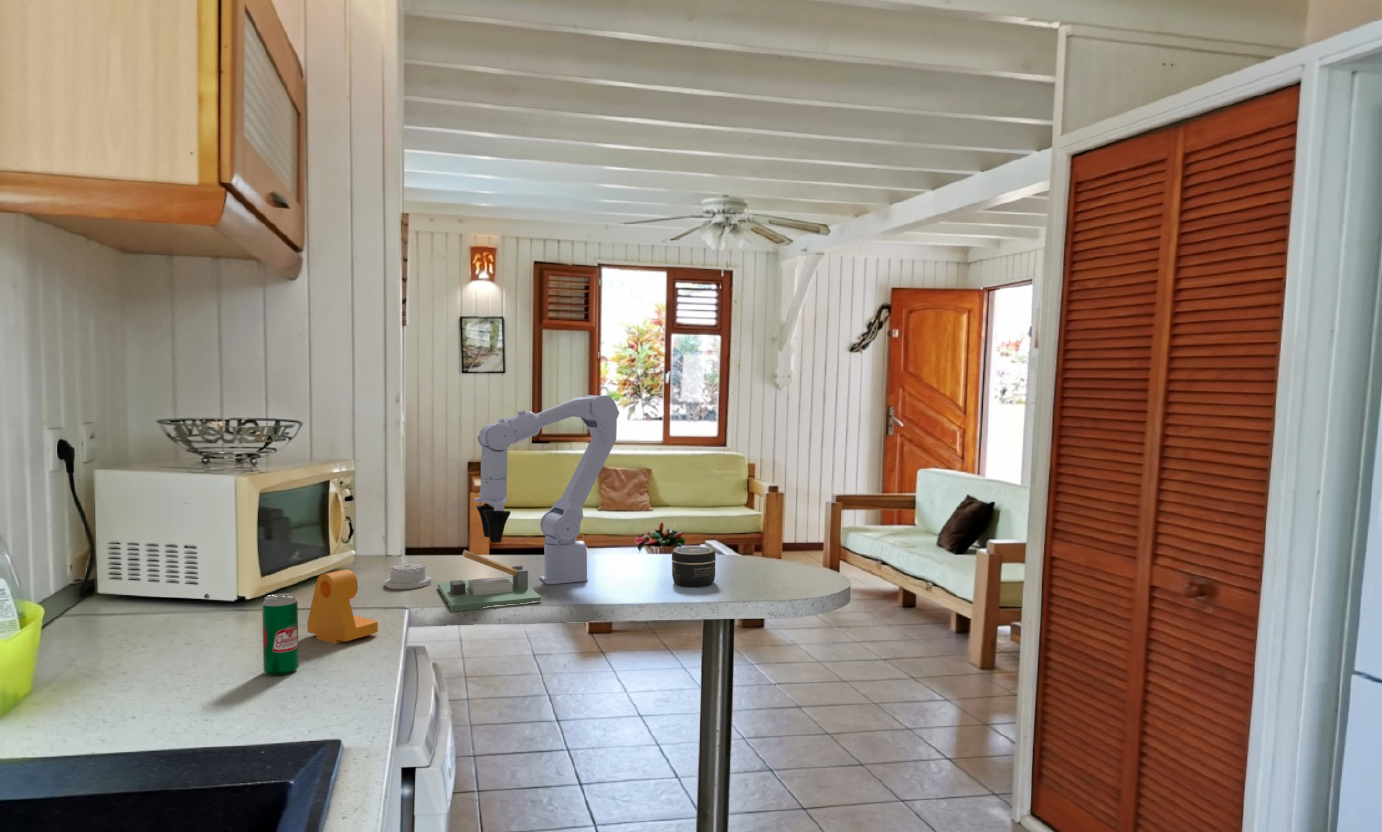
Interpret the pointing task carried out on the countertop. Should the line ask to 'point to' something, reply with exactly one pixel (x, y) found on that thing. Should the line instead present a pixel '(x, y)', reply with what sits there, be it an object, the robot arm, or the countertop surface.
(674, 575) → the jar
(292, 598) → the soda can
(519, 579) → the board
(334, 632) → the bracket
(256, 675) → the countertop surface
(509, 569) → the orange brown flat bar
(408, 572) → the mechanical component
